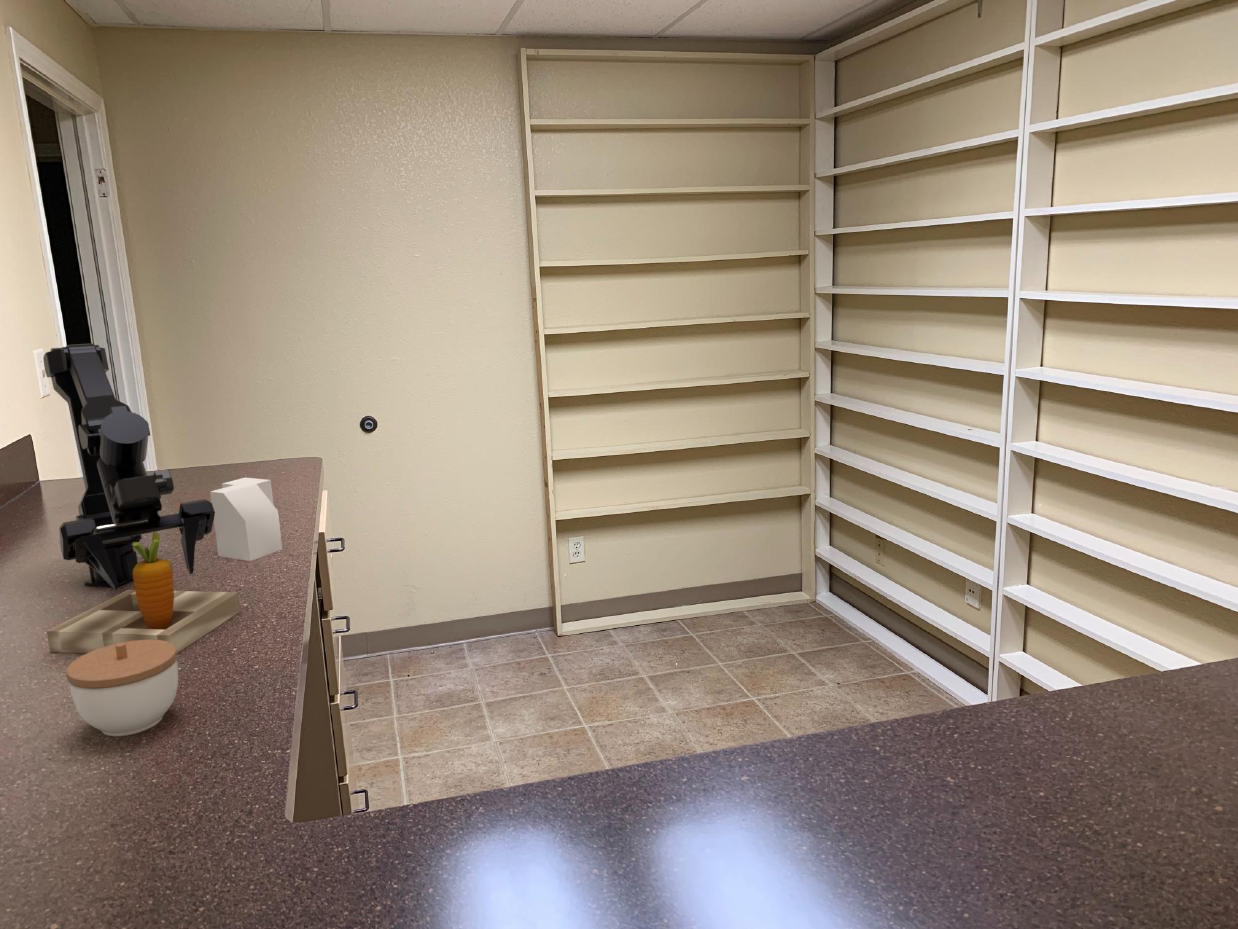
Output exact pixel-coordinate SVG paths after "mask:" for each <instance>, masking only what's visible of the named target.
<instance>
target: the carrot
mask: <svg viewBox="0 0 1238 929" xmlns="http://www.w3.org/2000/svg"><path fill="white" fill-rule="evenodd" d="M132 546H133V548H135V550H136V551H137V552H138V554H140V556H141V557H142V559H143V560H141V561H139V562H137V564H136V566H135V567H134V569H133V579H132V580H133V585H134V590H135V592H136V596H137V601H138V605H139V607H140V610H141V613H142V616H143V618H144V621H145V623H146V624H147V626H148V628H149V629H160V630H166V629H167V628H169V626H170V623H171V619H172V615H173V605H174V591H175V585H174V572H173V565H172V562H171V561H169V560H168V559H165V558H160V557H158V552H159V546H160V533H159V532H153V533H152V541H151V544H150V547H148V546H145V547H144V546H142V544H141V543H140V542H133V543H132Z"/></svg>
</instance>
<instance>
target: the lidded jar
mask: <svg viewBox="0 0 1238 929" xmlns="http://www.w3.org/2000/svg"><path fill="white" fill-rule="evenodd" d="M177 660H178V653H177V650H176V647H175V646H174V645H173V644H172V643H170V642H167V641H162V640H136V641H128V642H122V643H118V644H113V645H109V646H106V647H103V648H100V649H97V650H94V651H92V652H89V653H84V654H83V655H81V656H80V657H78V658H76V659H75V660H73V661H72V662H71V663H70V664H69V665H68V666H67V668H66V671H65V675H66V678H67V682H68V683H69V684H68V685H69V688H70V694H71V698H72V701H73V704H74V706H75V708H76V710H77V713H78V714H79V715H80V717H81V718H82V719H83V720H84V722H86V723H87V724H88V725H89V726H90V727H93V728H94V729H97V730H99V731H100V732H101V733H102V734H103V735H105V736H108V737H126V736H131V735H136V734H138V733H141V732H144V731H147V730H150V729H151V728H153V727H155V726H156V725H158V724H159V723H160V722H161V721H162V720H163V717H164V715H165V714H166V713H167V712H168V711H169V709H170V707H171V706H172V704H173V703H174V700H175V699H176V694H177V691H178V686H179V667H178V666H179V665H178V661H177Z"/></svg>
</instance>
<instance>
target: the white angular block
mask: <svg viewBox="0 0 1238 929" xmlns="http://www.w3.org/2000/svg"><path fill="white" fill-rule="evenodd" d="M209 492H210V493H209V494H210V502H211V503H212V505H213V508H214V511H215V515H214V521H213V525H214V526H213V527H214V531H215V532H214V533H215V541H216V546H217V547H216V548H217V554H218V557H222V558H227V559H228V558H229V559H234V560H240V561H247V562H253V561H254V560H257V559H260V558H262V557H266V556H268V555H271V554H275V553H276V552H279V551H282V550H283V543H282V535H281V534H282V533H281V526H280V517H279V510H278V509H277V508H276V507H275V505H274V498H273V487H272V479H266V478H265V479H263V478H255V477H242V478H238V479H234V480H231V481H227V482H222V483H221V488H218V489H215V490H212V491H209Z"/></svg>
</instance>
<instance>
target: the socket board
mask: <svg viewBox="0 0 1238 929" xmlns="http://www.w3.org/2000/svg"><path fill="white" fill-rule="evenodd" d="M240 606H241V605H240V600H239V592H237V591H236V592H232V591H197V590H196V591H195V590H193V591H192V590H191V591H190V590H189V591H188V590H187V591H186V590H174V605H173V615H172V619H171V623H170V626H169V628H167V629H166V630H160V629H149V628H148V626H147V624H146V623H145V621H144V618H143V616H142V613H141V610H140V607H139V605H138V601H137V596H136V592H135V589H127V590H125V591H122V592H121V593H119V594H117V595H115V596H113V597H111V598H109V599H107V600H105V601H103V602H101V603H99V604H97V605H95V606H94V607H90V608H89V609H88V610H85V611H83V612H82V613H80V614H78V615H76V616H74V617H72V618H69V619H68V620H66V621H64V622H61V623H60V624H58V625H56V626H54V627H52V628H50V629H47V630H46V636H47V641H48V646H49V652H50V653H68V654H87V653H89V652H92V651H94V650H97V649H100V648H103V647H106V646H109V645H113V644H118V643H122V642H128V641H136V640H162V641H167V642H170V643H172V644H173V645H174V646H175V647H176V650H177V654H178V653H180V652H181V651H184V649H186V648H188V647H189V646H190V645H192V644H193V643H195V642H196V641H198V640H200V639H201V638H202V637H204V636H206V635H207V634H209V633H210V632H212V631H213V630H215V629H216V628H218V627H219V626H221V625H223V624H224V623H225V622H226V621H229V620H230V619H231V618H233V617H234V616H236V615H237V614H239V613H240V612H241V607H240Z"/></svg>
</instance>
